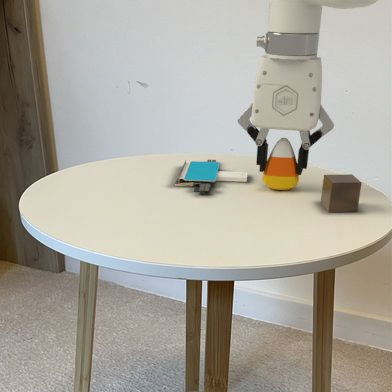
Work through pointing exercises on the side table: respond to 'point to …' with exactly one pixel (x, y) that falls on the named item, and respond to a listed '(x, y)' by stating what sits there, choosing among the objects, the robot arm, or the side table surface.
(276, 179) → the candy corn
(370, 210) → the side table surface
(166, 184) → the side table surface
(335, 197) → the walnut block
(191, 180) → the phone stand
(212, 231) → the side table surface
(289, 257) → the side table surface
